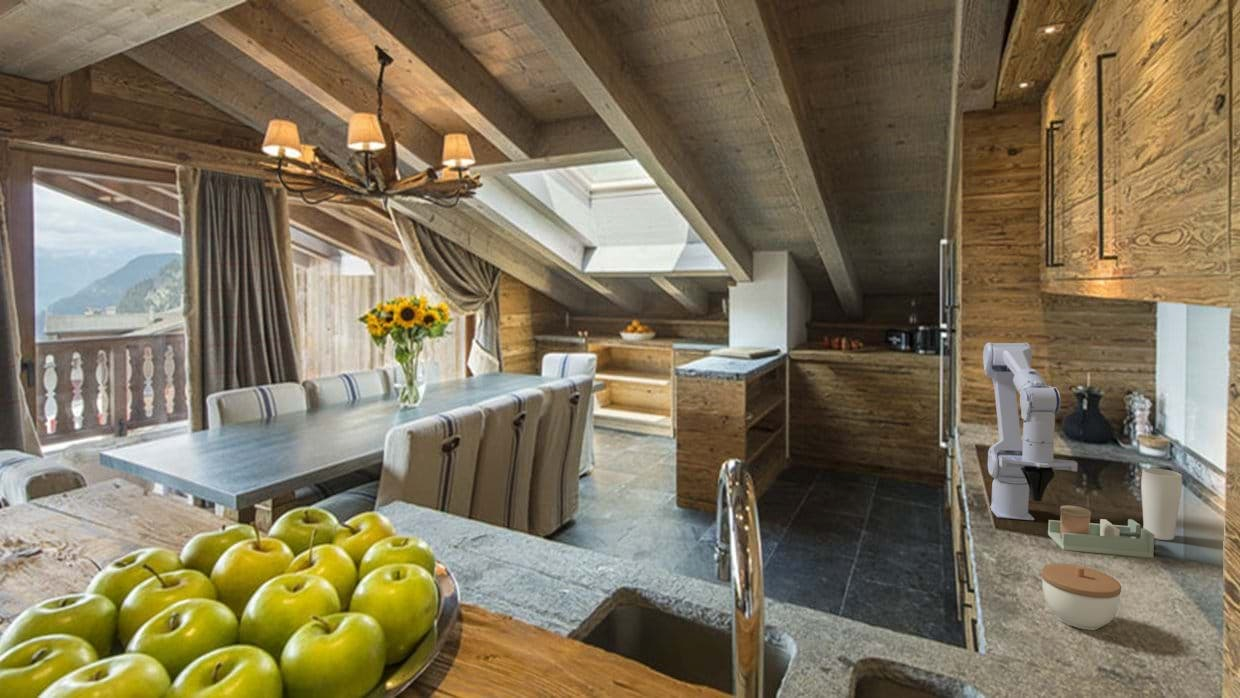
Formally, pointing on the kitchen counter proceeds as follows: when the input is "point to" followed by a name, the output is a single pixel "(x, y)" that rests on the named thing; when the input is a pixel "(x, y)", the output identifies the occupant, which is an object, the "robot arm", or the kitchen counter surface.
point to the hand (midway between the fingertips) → (1036, 499)
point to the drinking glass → (1160, 501)
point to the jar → (1074, 520)
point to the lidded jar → (1080, 595)
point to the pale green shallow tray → (1105, 540)
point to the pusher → (1114, 530)
